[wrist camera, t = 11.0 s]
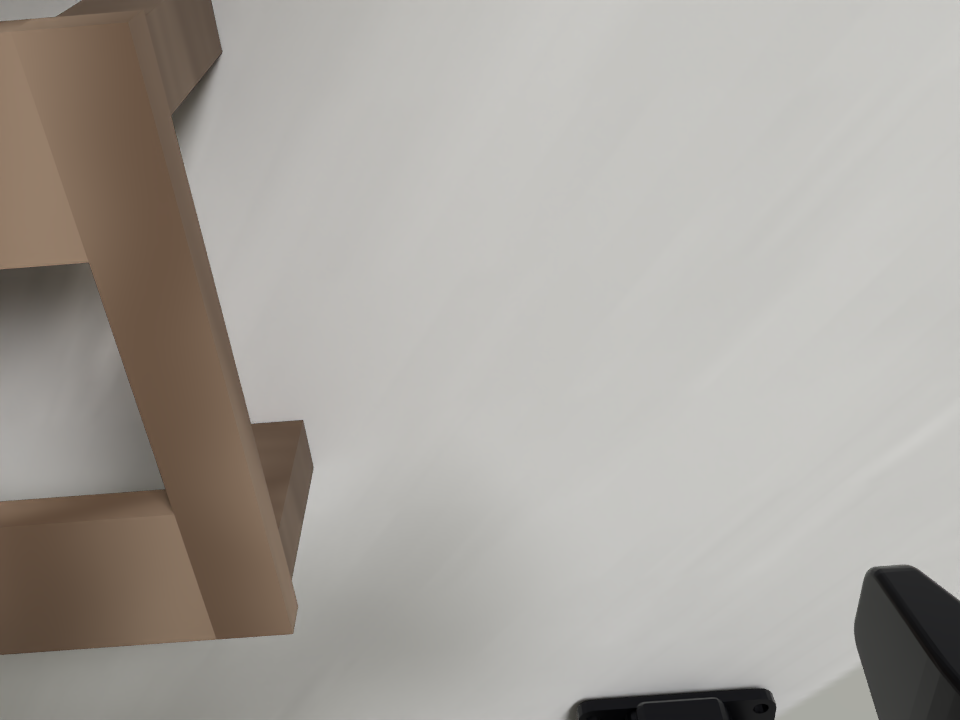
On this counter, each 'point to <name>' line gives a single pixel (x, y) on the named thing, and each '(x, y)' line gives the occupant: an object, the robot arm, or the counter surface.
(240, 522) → the four-legged frame stand
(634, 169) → the counter surface
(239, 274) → the counter surface
